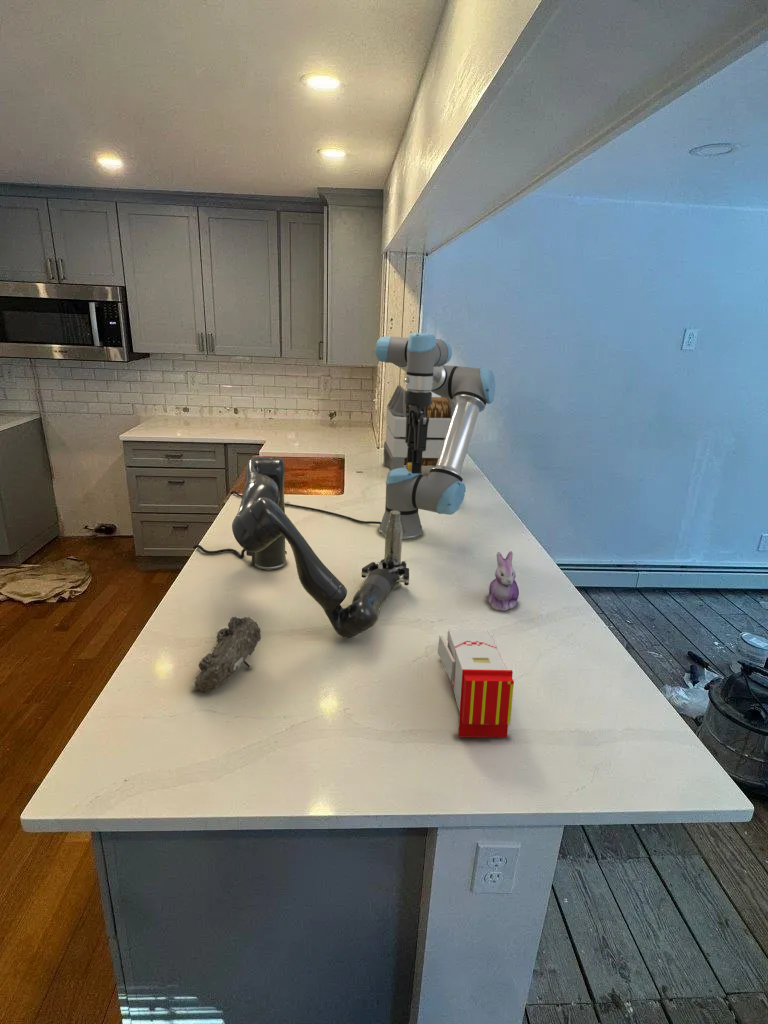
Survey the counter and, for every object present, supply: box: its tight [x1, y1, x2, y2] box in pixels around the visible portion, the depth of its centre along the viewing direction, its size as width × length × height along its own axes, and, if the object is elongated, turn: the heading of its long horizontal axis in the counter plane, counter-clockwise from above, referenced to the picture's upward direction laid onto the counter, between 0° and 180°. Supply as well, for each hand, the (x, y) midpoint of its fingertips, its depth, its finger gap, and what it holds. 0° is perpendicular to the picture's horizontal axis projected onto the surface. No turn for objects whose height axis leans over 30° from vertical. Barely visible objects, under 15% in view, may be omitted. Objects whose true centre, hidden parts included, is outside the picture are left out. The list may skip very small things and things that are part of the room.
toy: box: [437, 628, 515, 738], centre depth 117 cm, size 12×13×30 cm
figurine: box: [487, 550, 520, 612], centre depth 153 cm, size 9×10×15 cm
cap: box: [406, 462, 412, 472], centre depth 167 cm, size 4×4×2 cm
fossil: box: [194, 616, 262, 693], centre depth 122 cm, size 22×10×15 cm
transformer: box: [383, 384, 462, 475], centre depth 268 cm, size 34×33×41 cm
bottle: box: [383, 510, 403, 590], centre depth 159 cm, size 5×5×22 cm
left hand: (394, 562), depth 163 cm, fingers closed on bottle, 4 cm apart
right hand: (413, 470), depth 167 cm, fingers closed on cap, 4 cm apart
